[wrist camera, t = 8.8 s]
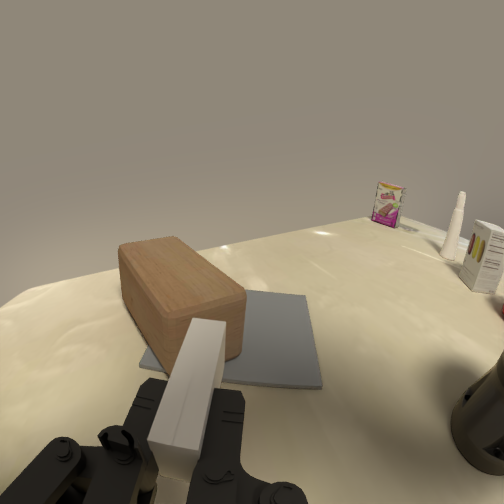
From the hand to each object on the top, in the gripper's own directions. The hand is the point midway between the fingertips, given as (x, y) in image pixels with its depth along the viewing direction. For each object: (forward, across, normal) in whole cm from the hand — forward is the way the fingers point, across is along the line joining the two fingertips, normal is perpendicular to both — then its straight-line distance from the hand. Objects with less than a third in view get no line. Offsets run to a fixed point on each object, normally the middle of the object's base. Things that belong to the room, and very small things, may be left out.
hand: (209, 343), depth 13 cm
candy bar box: (+101, +52, -19) cm, 115 cm away
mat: (+25, 0, -18) cm, 30 cm away
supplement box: (+48, +62, -18) cm, 81 cm away
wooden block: (+15, -2, -12) cm, 19 cm away
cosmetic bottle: (+69, +64, -18) cm, 96 cm away
